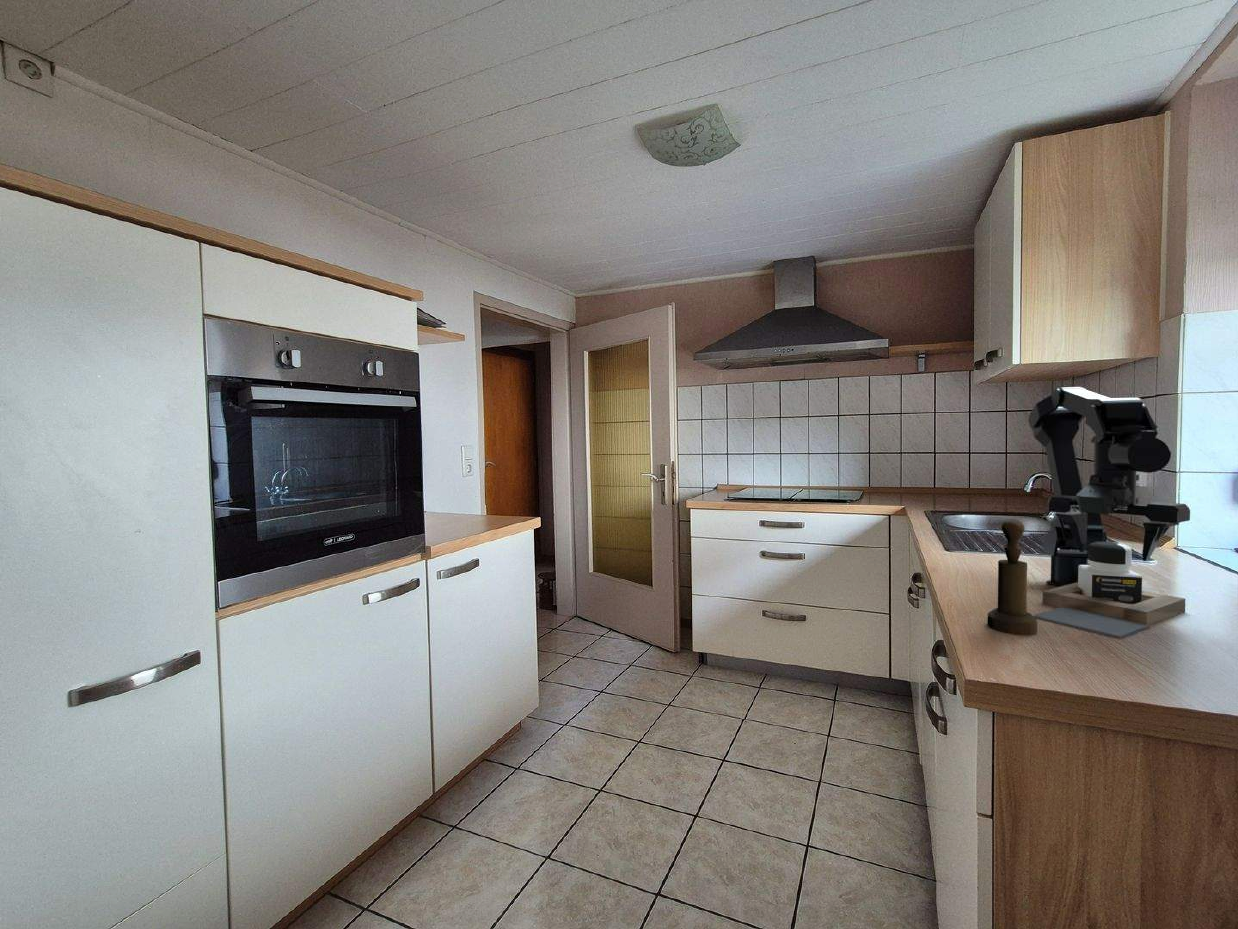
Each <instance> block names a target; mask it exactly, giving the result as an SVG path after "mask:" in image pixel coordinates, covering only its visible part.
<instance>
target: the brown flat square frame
mask: <svg viewBox="0 0 1238 929" xmlns="http://www.w3.org/2000/svg"><path fill="white" fill-rule="evenodd" d="M1042 604H1044V605H1048V606H1054V607H1056V608H1060V607H1067V608H1072V609H1077V610H1081V611H1086V612H1091V613H1095V614H1100V615H1105V616H1109V617H1114V618H1119V619H1123V620H1128V621H1132V622H1137V623H1142V624H1146V625H1149V627H1150V626H1152V625H1154V624H1158V623H1160V622H1163V621H1166V620H1168V619H1172V618H1174V617H1176V616H1177V617H1178V616H1179V615H1182V614H1184V613H1186V598H1183V597H1179V596H1173V595H1167V594H1161V593H1156V592H1150V591H1145V590H1142V602H1139V603H1136V604H1133V605H1131V604H1126V603H1120V602H1115V601H1110V600H1105V599H1100V598H1095V597H1090V596H1085V595H1082V589H1081V588H1079V587H1078V582H1076V583H1072V584H1069V585H1065V586H1058V587H1054V588H1050V589H1046V590H1043V591H1042ZM1181 613H1182V614H1181Z"/></svg>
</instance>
